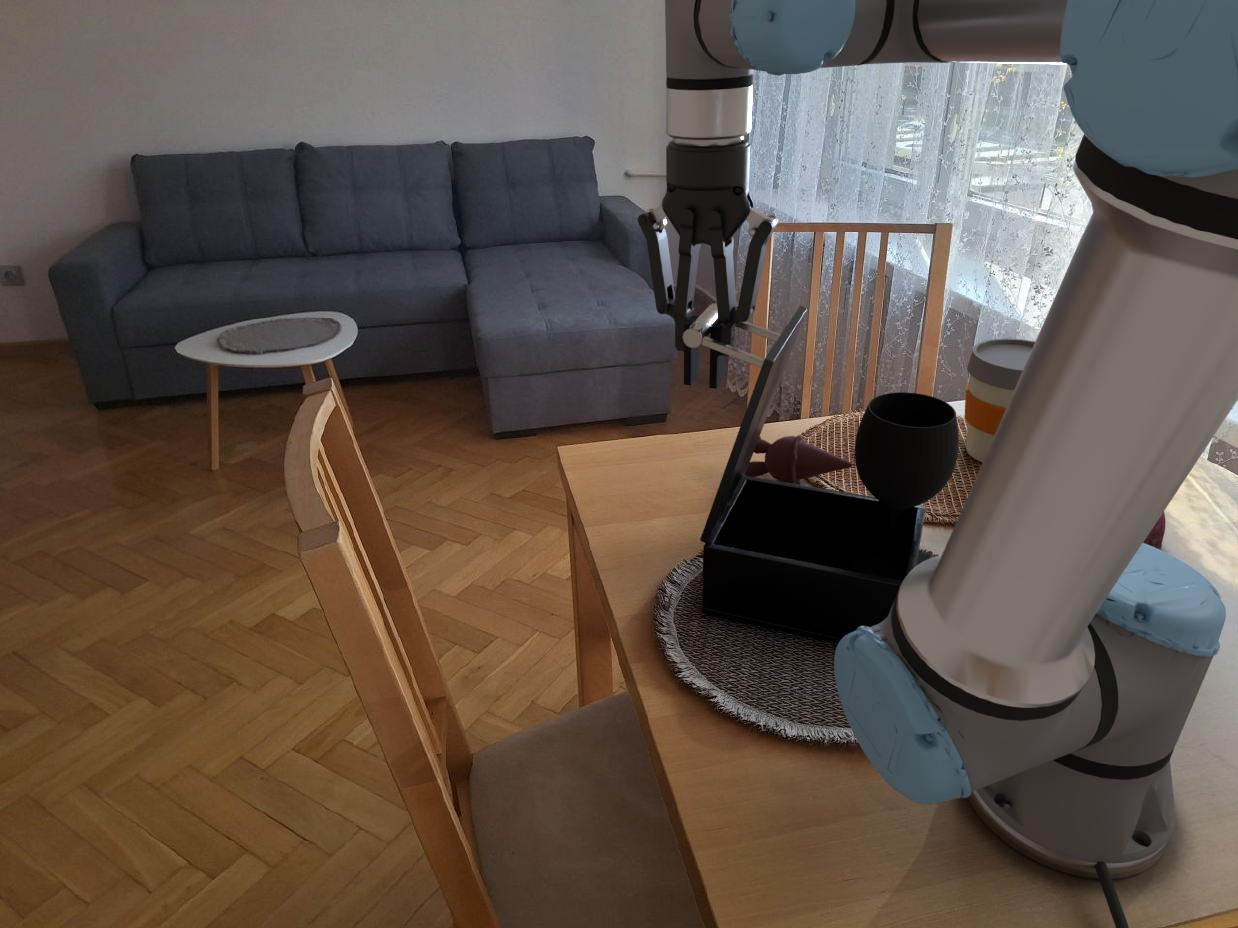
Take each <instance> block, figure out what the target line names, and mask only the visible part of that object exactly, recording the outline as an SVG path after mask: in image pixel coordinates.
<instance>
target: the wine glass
mask: <svg viewBox="0 0 1238 928" xmlns="http://www.w3.org/2000/svg"><path fill="white" fill-rule="evenodd" d="M959 449H960V433H959V424H958V417H957V411H956V410H955V408H954V407H953V405H951V404H950V403H948V402H946V400H945V401H944V400H943V399H940V398H939V397H938V398H937V397H935V396H932V395H928V394H923V393H917V392H908V391H907V392H906V391H905V392H902V391H901V392H899V391H898V392H889V393H883V394H880V395H877V396H875V397H874V398H872V399H870V401H869V402H868V404H867V406H866V408H865V410H864V413H863V415H862V417H861V420H860V422H859V425H858V428H857V432H856V436H855V442H854V464H855V469H856V471H857V474H858V476H859V479H860V481H861V483H862V484H863V486H864V487H865V489H866V490H867V491H868V492H869V494H871V495H872V497H875V498H876V499H878V500H879V501H880V502H882V503H883V504H885V505H886V506H888V507H889V510H890V532H889V538H888V543H887V546H886V549H885V551H884V553H883V554H882V555H880V556H879V557H876V558H859V557H851V561H852V563H853V566H854V567H855V568H856V569H857V570H858V571H859V572H860V573H863V574H869V575H874V576H879V577H884V578H889V579H894V580H899V581H904V579H905V578H906V572H907V567H908V565H905V564H903V563H902V562H900V561H899V560H898V559H897V557H896V555H895V535H896V531H897V526H898V522H899V519H900V516H901V514H902V512H903V511H904V510H905V509H908V508H912V507H915V506H918V505H923V504H924V503H927V502H928V501H931V500H932V499H933V498H934V497H935V496H937V495H939V493H940V492H941V491H942V490H943V489H944V488H945V487H946V486H947V484H948V482H949V481H950V479H951V478H952V476H953V474H954V471H955V468H956V465H957V461H958V455H959ZM930 558H931V557H929V556H928V555H927V554H926V553H924V551H922V550H920V549H919V553H918V559H917V565H918V564H920V563H922V562H923V561H925V560H928V559H930Z"/></svg>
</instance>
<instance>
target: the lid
mask: <svg viewBox="0 0 1238 928" xmlns="http://www.w3.org/2000/svg"><path fill="white" fill-rule="evenodd" d="M807 311H808V308H807V307H805V306H802V305H799V307H798V308H797V309H796V311H795V313H794V314H793V316H792V317H791V318H790V320H789V321H788V323H787V325H786V326H785V328H784V329H783V330H782V332H781V333H779V332H776V331H774V330H770V329H769V328H766V327H763V326H760V325H757V324H754V323H752V322H749V321H748V320H747V321H746V322H737V323H735V328H738V329H741V330H744V331H746V332H748V333H752V334H754V335H757V336H760V337H762V338H765V339H768V340H770V341H773V342H775V343H774V344H773V346H772V347H771V349H770V350H769V352H768V353H767V355H766V356H765V358H764V357H761V356H758V355H756V354H753V353H750V352H747V351H746V350H742V349H740V348H737V347H735V346H734V347H732V346H729V345H727V344H724V343H722V342H719V341H716V340H714V339H711V338H710V333H711V326H712V325H713V323H714V322H715V321H716V320H717V319H718V312H717V302H715V303H711V304H709V305H708V306H707V307H706V309H705V310H704V311H702V313H700V314H699V315H698V316H699V317H698V318H697V319H696V320H695V321H694V322H693V323H692V324H691V326H690V327H689V328H688V329H687V330H686V331H685V332H684V334H683V341H684V343H685V345H686V346H688V347H690V348H698V347H699V348H700V346H704V347H705V348H709V349H710V348H711V349H714V350H716V351H719V352H721V353H724V354H727V355H729V356H728V357H732V358H735V359H736V360H737V359H738V360H740V361H743V362H745V363H748V364H751V365H753V366H755V367H758V368H760V370H759V374H758V376H757V379H756V382H755V383H754V384H755V385H754V386H753V390H752V393H751V394H750V395H751V396H750V399H749V401H748V404H747V406H746V409H745V413H744V415H743V418H742V421H741V424H740V426H739V429H738V432H737V435H736V437H735V440H734V443H733V446H732V449H731V451H730V454H729V457H728V460H727V463H726V466H725V468H724V471H723V474H722V477H721V480H720V482H719V485H718V487H717V491H716V494H715V497H714V499H713V502H712V504H711V508H710V511H709V513H708V515H707V518H706V521H705V524H704V527H703V530H702V533H701V535H700V538H699V541H700V542H702V543H704V544H705V543H708V541H709V539H710V538H711V536H712V534H713V532H714V530H715V528H716V527H717V525H718V523H719V521H720V519H721V517H722V516H723V514H724V512H725V510H726V508H727V506H728V505H729V503H730V501H731V499H732V497H733V495H734V494H735V492H736V490H737V488H738V486H739V484H740V483H741V481H742V479H743V477H744V476H745V473H746V471H747V468H748V466H749V463H750V462H751V460H752V458H753V455H754V450H755V447H756V444H757V442H758V439H759V436H760V437H761V433H762V431H763V428H764V426H765V423H766V421H767V418H768V415H769V412H770V409H771V407H772V404H773V402H774V399H775V396H776V394H777V391H778V388H779V386H780V384H781V380H782V378H783V375H784V372H785V370H786V367H787V365H788V362H789V360H790V356H791V354H792V352H793V349H794V346H795V344H796V340H797V338H798V335H799V333H800V330H801V327H802V324H803V322H804V319H805V316H806V314H807Z"/></svg>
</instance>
